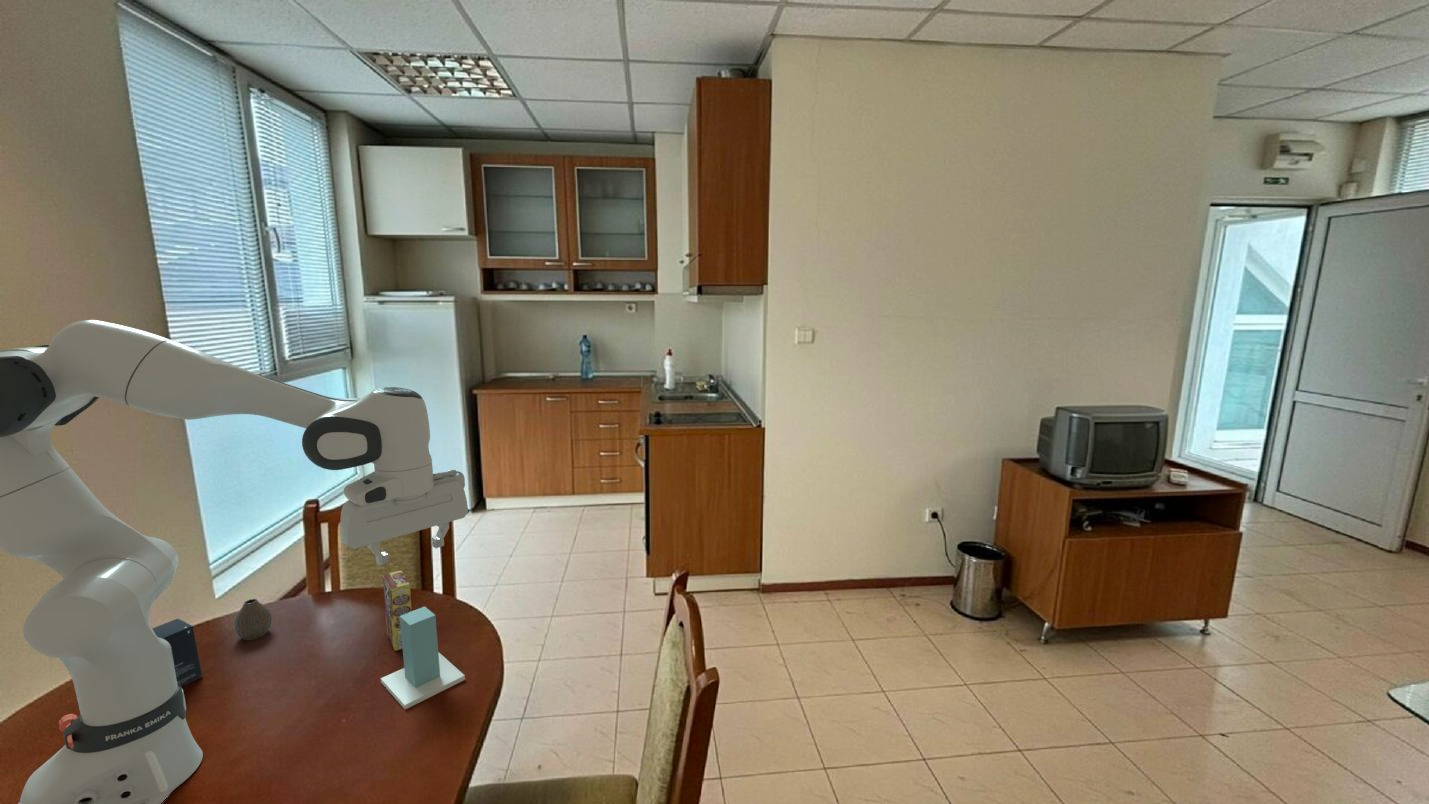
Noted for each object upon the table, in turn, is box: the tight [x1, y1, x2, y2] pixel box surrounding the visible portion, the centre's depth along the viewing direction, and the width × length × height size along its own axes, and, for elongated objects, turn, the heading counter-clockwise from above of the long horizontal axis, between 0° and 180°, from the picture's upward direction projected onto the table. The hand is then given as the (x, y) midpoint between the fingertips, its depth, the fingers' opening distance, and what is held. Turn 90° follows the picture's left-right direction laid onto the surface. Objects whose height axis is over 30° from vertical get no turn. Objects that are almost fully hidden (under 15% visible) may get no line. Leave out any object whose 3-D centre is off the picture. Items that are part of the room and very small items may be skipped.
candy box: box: [382, 570, 413, 652], centre depth 134 cm, size 9×4×15 cm, turn 39°
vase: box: [233, 598, 273, 641], centre depth 135 cm, size 7×7×9 cm
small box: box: [152, 618, 204, 688], centre depth 116 cm, size 13×7×12 cm, turn 154°
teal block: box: [400, 606, 440, 688], centre depth 119 cm, size 5×5×14 cm
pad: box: [380, 651, 466, 710], centre depth 121 cm, size 12×12×1 cm
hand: (411, 554), depth 103 cm, fingers open, 8 cm apart
